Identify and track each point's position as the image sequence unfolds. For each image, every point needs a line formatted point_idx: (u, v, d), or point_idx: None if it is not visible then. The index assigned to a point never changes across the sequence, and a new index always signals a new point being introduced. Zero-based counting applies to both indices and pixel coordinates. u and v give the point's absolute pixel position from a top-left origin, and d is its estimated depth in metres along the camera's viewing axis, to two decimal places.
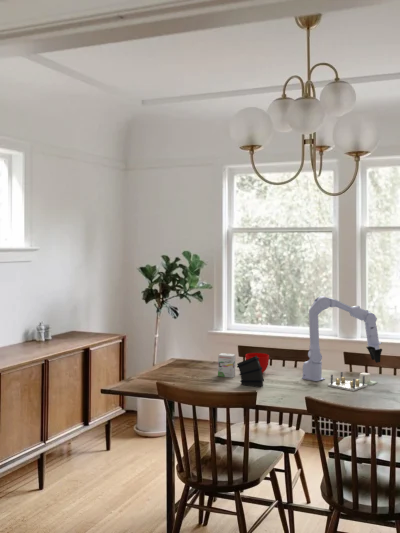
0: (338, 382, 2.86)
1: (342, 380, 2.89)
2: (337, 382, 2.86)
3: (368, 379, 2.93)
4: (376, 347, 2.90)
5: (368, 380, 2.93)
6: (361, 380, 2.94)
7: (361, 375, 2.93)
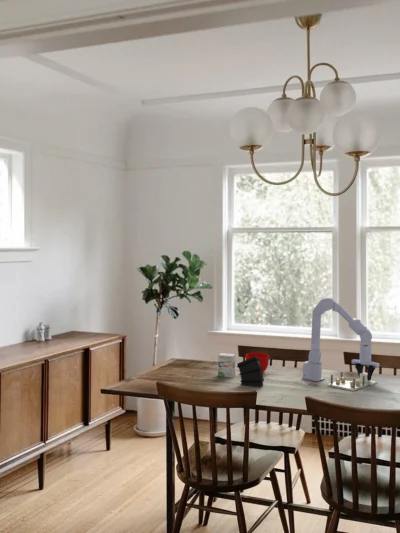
0: (338, 382, 2.86)
1: (342, 380, 2.89)
2: (337, 382, 2.86)
3: None
4: (378, 365, 2.89)
5: (368, 380, 2.93)
6: (361, 380, 2.93)
7: (361, 375, 2.93)
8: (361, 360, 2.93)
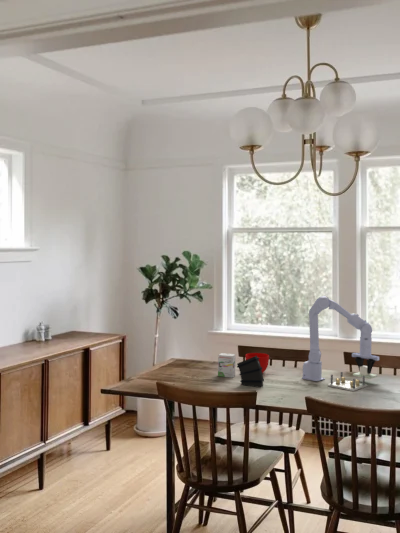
0: (338, 382, 2.86)
1: (342, 380, 2.89)
2: (337, 382, 2.86)
3: None
4: (378, 358, 2.89)
5: None
6: (361, 373, 2.93)
7: (361, 368, 2.93)
8: (361, 353, 2.92)
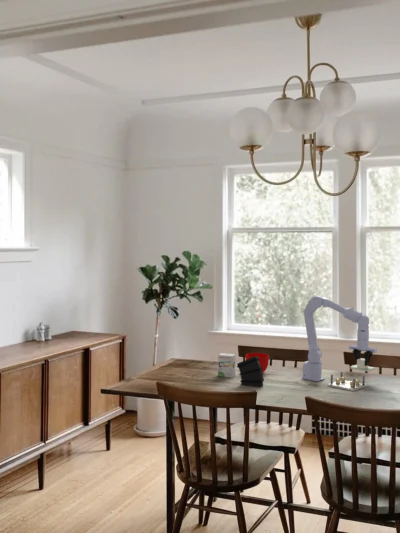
0: (338, 382, 2.86)
1: (342, 380, 2.89)
2: (337, 382, 2.86)
3: None
4: (375, 350, 2.87)
5: (365, 366, 2.91)
6: (358, 366, 2.92)
7: (358, 361, 2.92)
8: (358, 345, 2.91)
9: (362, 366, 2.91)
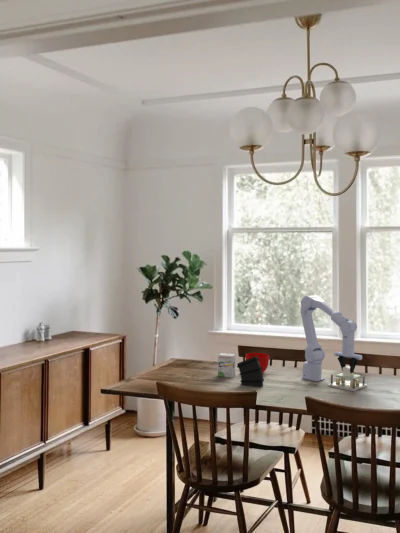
0: (338, 382, 2.86)
1: (342, 380, 2.89)
2: (337, 382, 2.86)
3: (351, 373, 2.84)
4: (360, 357, 2.80)
5: (351, 374, 2.84)
6: (344, 374, 2.85)
7: (344, 369, 2.85)
8: (344, 352, 2.84)
9: (348, 374, 2.84)
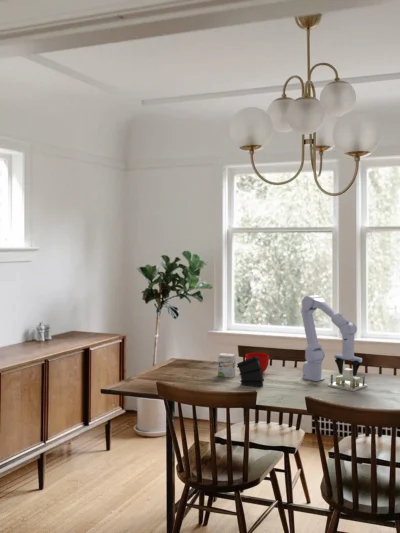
0: (338, 382, 2.86)
1: (342, 380, 2.89)
2: (337, 382, 2.86)
3: (351, 375, 2.84)
4: (360, 360, 2.80)
5: (351, 376, 2.84)
6: (344, 376, 2.85)
7: (344, 371, 2.85)
8: (344, 355, 2.84)
9: (348, 376, 2.84)
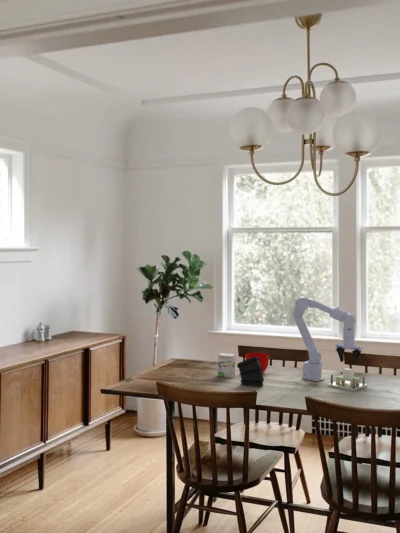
0: (338, 382, 2.86)
1: (342, 380, 2.89)
2: (337, 382, 2.86)
3: (351, 375, 2.84)
4: (360, 348, 2.92)
5: (351, 376, 2.84)
6: (344, 376, 2.85)
7: (344, 371, 2.85)
8: (344, 344, 2.96)
9: (348, 376, 2.84)
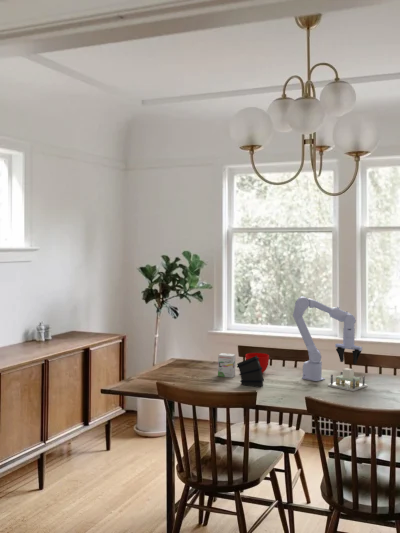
0: (338, 382, 2.86)
1: (342, 380, 2.89)
2: (337, 382, 2.86)
3: (351, 375, 2.84)
4: (361, 348, 2.92)
5: (351, 376, 2.84)
6: (344, 376, 2.85)
7: (344, 371, 2.85)
8: (344, 344, 2.96)
9: (348, 376, 2.84)
